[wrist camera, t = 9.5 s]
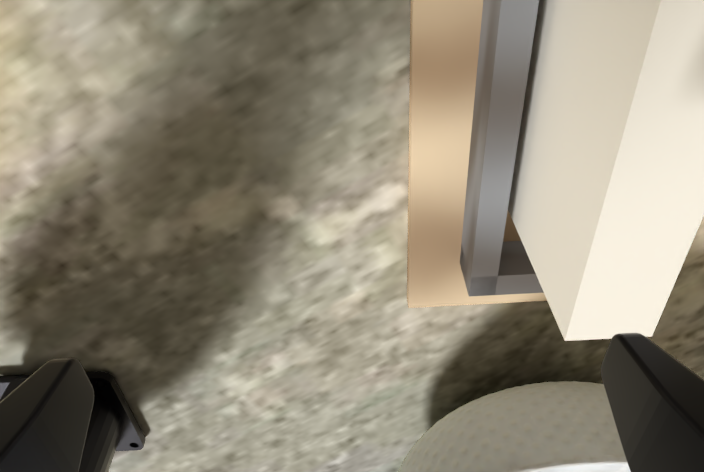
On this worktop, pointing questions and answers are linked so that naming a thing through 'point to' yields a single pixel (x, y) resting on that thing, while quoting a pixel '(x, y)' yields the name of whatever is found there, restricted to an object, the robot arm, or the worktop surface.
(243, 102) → the worktop surface
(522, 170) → the door panel
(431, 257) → the track board
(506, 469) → the cereal bowl
